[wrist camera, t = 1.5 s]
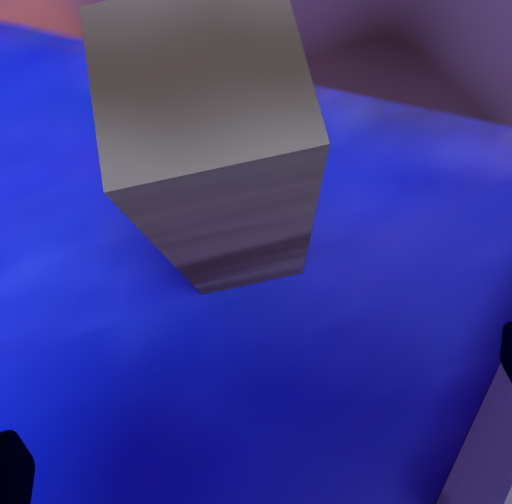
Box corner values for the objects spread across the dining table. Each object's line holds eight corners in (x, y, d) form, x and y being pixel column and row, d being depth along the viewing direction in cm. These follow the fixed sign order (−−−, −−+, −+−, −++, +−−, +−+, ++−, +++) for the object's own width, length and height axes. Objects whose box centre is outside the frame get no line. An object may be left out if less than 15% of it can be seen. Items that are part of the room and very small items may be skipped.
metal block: (302, 272, 23) (329, 143, 10) (201, 294, 23) (103, 192, 10) (280, 180, 24) (279, -37, 11) (185, 200, 24) (79, 6, 11)
